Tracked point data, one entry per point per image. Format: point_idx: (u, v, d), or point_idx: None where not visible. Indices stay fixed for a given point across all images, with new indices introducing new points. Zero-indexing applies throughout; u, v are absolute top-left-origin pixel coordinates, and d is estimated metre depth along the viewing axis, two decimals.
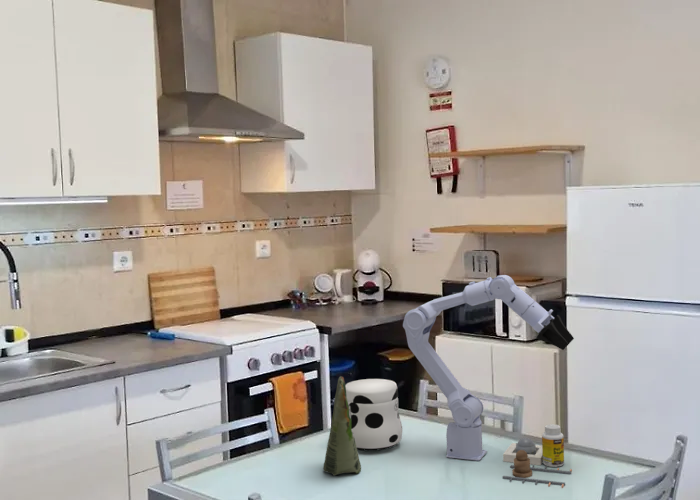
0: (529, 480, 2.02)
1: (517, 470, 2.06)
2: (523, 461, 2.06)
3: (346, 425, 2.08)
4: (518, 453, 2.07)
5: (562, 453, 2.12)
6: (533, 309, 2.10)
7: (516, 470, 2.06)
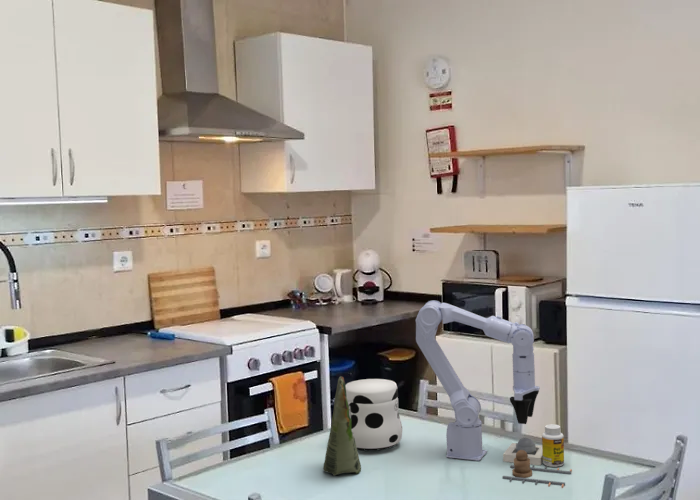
0: (529, 480, 2.02)
1: (517, 470, 2.06)
2: (523, 461, 2.06)
3: (346, 425, 2.08)
4: (518, 453, 2.07)
5: (562, 453, 2.12)
6: (527, 377, 2.16)
7: (516, 470, 2.06)
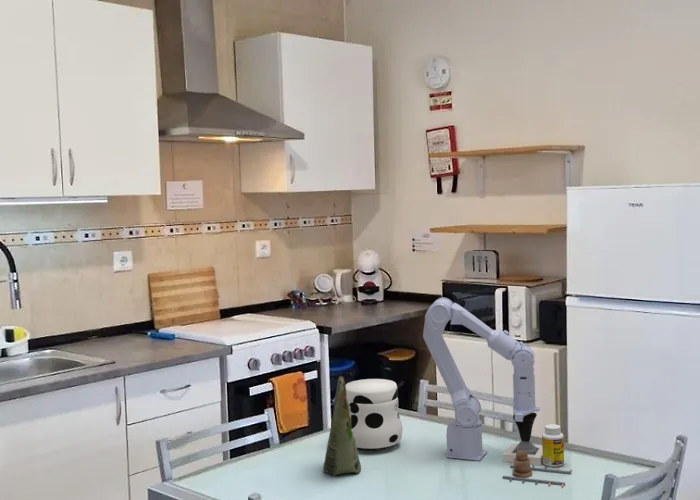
0: (529, 480, 2.02)
1: (517, 470, 2.06)
2: (523, 461, 2.06)
3: (346, 425, 2.08)
4: (518, 453, 2.07)
5: (562, 453, 2.12)
6: (528, 398, 2.16)
7: (516, 470, 2.06)
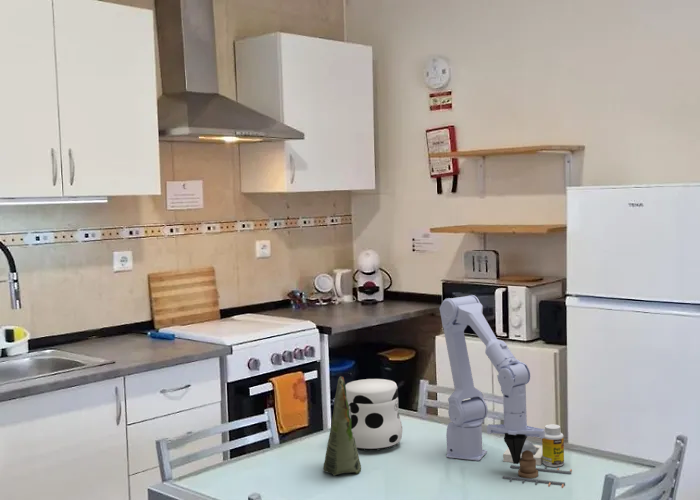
0: (529, 480, 2.02)
1: (523, 470, 2.06)
2: (529, 461, 2.05)
3: (346, 425, 2.08)
4: (524, 453, 2.06)
5: (562, 453, 2.12)
6: (504, 416, 2.07)
7: (522, 470, 2.06)
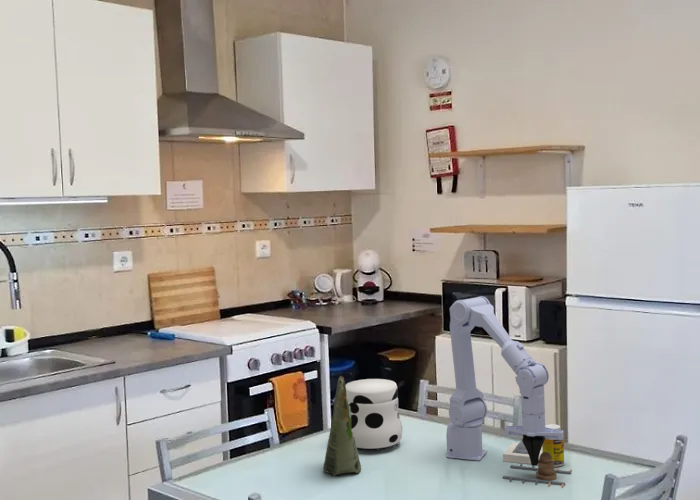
0: (529, 480, 2.02)
1: (541, 472, 2.04)
2: (547, 463, 2.03)
3: (346, 425, 2.08)
4: (542, 455, 2.04)
5: (562, 453, 2.12)
6: (522, 417, 2.05)
7: (540, 472, 2.04)
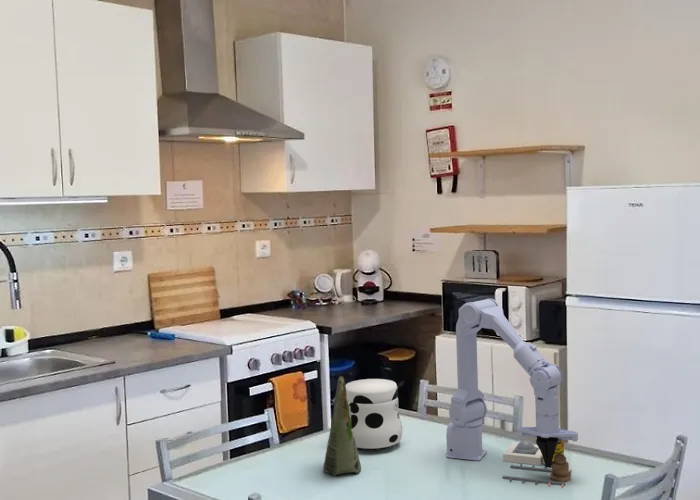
0: (529, 480, 2.02)
1: (555, 474, 2.02)
2: (562, 465, 2.02)
3: (346, 425, 2.08)
4: (556, 457, 2.02)
5: (562, 453, 2.12)
6: (536, 418, 2.03)
7: (554, 473, 2.02)
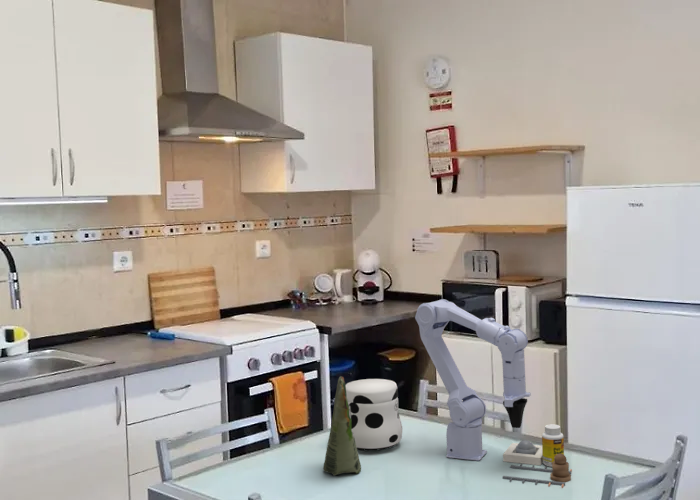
0: (529, 480, 2.02)
1: (556, 474, 2.02)
2: (562, 465, 2.02)
3: (346, 425, 2.08)
4: (557, 457, 2.02)
5: (562, 453, 2.12)
6: (518, 383, 2.10)
7: (554, 473, 2.02)
